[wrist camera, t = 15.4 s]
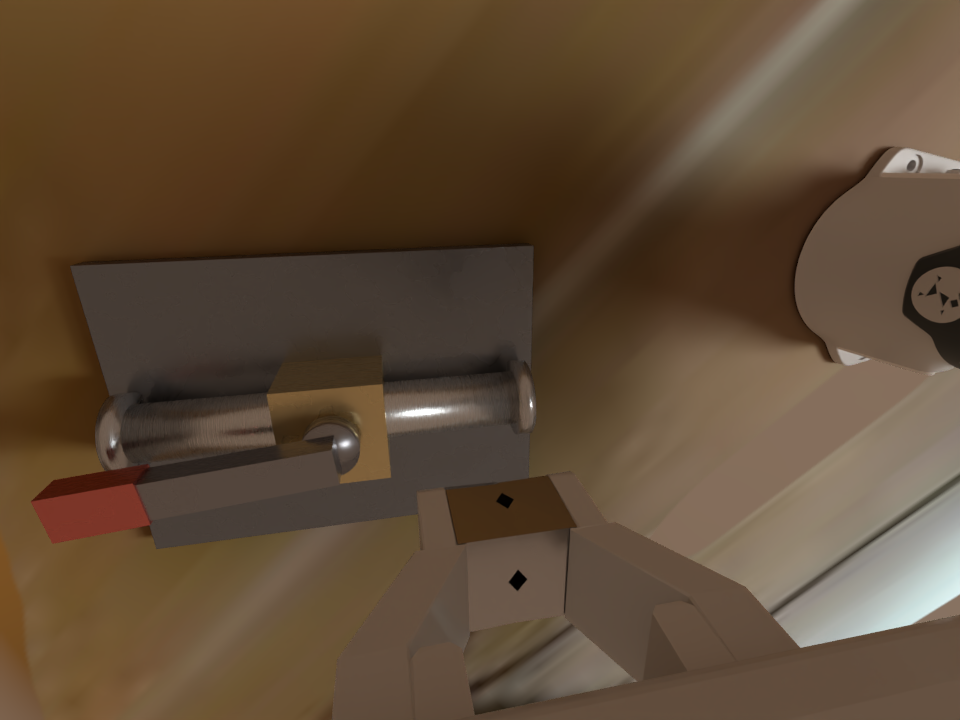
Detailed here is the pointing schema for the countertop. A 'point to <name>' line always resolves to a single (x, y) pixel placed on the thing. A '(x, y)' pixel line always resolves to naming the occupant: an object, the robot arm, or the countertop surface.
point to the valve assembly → (317, 371)
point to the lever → (197, 483)
